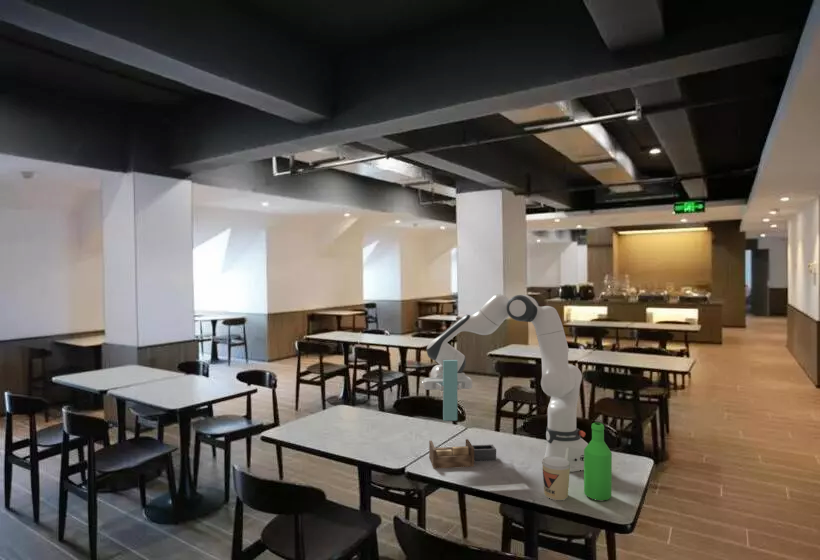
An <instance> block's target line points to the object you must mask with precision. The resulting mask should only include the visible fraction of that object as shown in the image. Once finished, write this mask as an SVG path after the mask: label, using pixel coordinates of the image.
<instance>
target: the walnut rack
mask: <svg viewBox="0 0 820 560" xmlns="http://www.w3.org/2000/svg"><path fill="white" fill-rule="evenodd" d="M428 443H429V444H428V445H429V448H428V449H429V453H428V455H429V461H430V463H431V466H432V469H433V470H434V469H451V468H452V469H455V468H474V467H475V462H474V448H473V446H472V445H473V444H472V443H471V441H470V440H469V439H468V438H467V439H465V446H468V455H453V447H454V446H446V447H445V446H444V447H443V446H442V447H436V446H435V445H434V442H433V440H429V442H428ZM447 449H451V450H452V455H449V456H436V450H447Z"/></svg>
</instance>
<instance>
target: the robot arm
mask: <svg viewBox="0 0 820 560" xmlns="http://www.w3.org/2000/svg"><path fill="white" fill-rule="evenodd" d="M509 317H510V318H511V319H513V320H514V321H516V322H525V323H531V324H532V325H533V327H534V330H535V335H536V339H537V343H538V347H539V352H540V356H541V379H540V386H541V390H542V391H543V393H544V394H545V395H547V396H548V397H550V399H549V403H548V404H547V405H548V407H547V426H546V432H545V438H546V449H545V454H544V457H543V459H544V458H545V457H550V456H554V457H561V458H564V459H566V460H568V461H569V463H570V473H573V472H580V470H581V471H584V449H585V448H586V446H587V445H588V444H589V442H587V441H586V440H584V439H583V438H585V437H586V432H585V431H584V430H580V429H579V428H577V409H578V408H577V407H578V402H579V396H580V389H581V384H582V379H583V374H582V372H581V370H580V368H578V367H577V366H576V365H573V364H570V363H569V346H568V342H567V337H566V333H565V330H564V326H563V323H562V320H561V318H560V315H559V313H558V311H557V309H556V308H555V307H554V306H550V305H544V306H543V305H542V306H540V304H539V302H538V300H537V299H536V298H535V297H534V296H531V295H527V294H516V295H514V296H512V297H511V298H509V297H508V296H506V295H504V294H501V293H500V294H499V293H498V294H494V295H493V296H492V297H490V298H489V299H488V300H487V301H486V302H485V303H484V304H483V305H482V306H481V308H480V309H479V310H477V311H476V312H474V313H473V314H465V315H463V316H461V317H460V318H459V319H457V320H456V321H455V322H454V323H453V324H451V325H450V326H449V327H448V328H447V329H445V330H444V331H443V332H441V334H439V335H438V336H436V337H435V338H434V339H432V340H431V341H430V342H429V343H428V345H427V346H426V354H427V356H428V359H431V360H433V361H435V362H436V363H438V364H435V366H433V367H432V369H431V370H430V377H425V378H423V380H421V381H420V382H421V385H423V389H424V390H426V391H428V390H429V391H430V390H431V391H432V390H439V391H442V392H443V390H444V385H443V360H457V391H458V390H462V389H463V390H465V389H467V390H470V389H472V388H473V379H472V378H471V377H470V376H468V375H466V373H465V372H464V370H465V368H466V364H467V361H466V360H467V359H466V355H464V354H463V353H462V352H461V351H459V349H456V348H455V347H454V346H453V345H451V344H450V343H448V342H450V341H451V340H452V339H453V338H454V337H455V336H457V335H458V334H460V333H461V332H469V333H474V334H477V335H480V336H488V335H491V334H494V332H496V331H497V330H498V329H499V327H500V326H501V325H502V324H503V323H504V321H506V319H508V318H509Z"/></svg>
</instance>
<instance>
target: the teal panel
mask: <svg viewBox="0 0 820 560" xmlns="http://www.w3.org/2000/svg"><path fill="white" fill-rule="evenodd" d="M443 385H444V390H443V391H442V420H443V421H444V422H447V421H448V422H449V421H454V422H455V421H458V390H457V360H443Z"/></svg>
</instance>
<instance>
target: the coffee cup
mask: <svg viewBox="0 0 820 560" xmlns="http://www.w3.org/2000/svg"><path fill="white" fill-rule="evenodd" d="M541 464H542V479H543V480H542V481H543V482H542V483H543V492H544V497H546V498H547V497H548V498H547V499H549V498H550V499H549V500H551V499H553V500H552V501H556V500H563V501H565V500H564V499H566V498H567V499H568V498H569V497H568V496H569V487H570V473H571V472H570V463H569V461H568V460H566V459H564V458H561V457H554V456H550V457H545V458H544V457H543V459H542V461H541ZM567 499H566V500H567Z"/></svg>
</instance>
